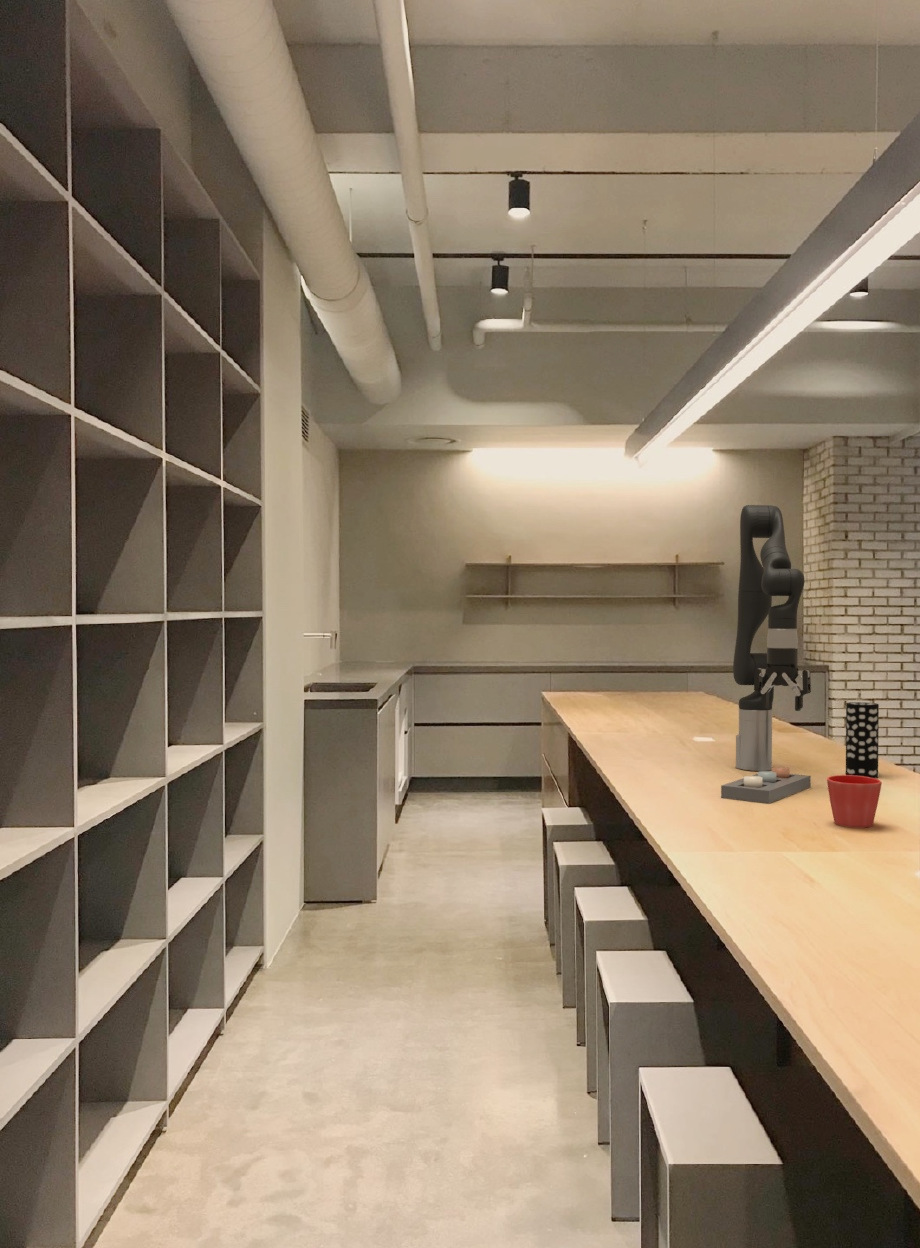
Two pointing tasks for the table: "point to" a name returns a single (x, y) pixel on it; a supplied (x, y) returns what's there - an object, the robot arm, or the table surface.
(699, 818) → the table surface
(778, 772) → the terracotta button
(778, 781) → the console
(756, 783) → the offwhite button
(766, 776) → the slate button
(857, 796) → the flower pot
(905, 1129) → the table surface
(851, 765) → the white-spotted black cylinder
